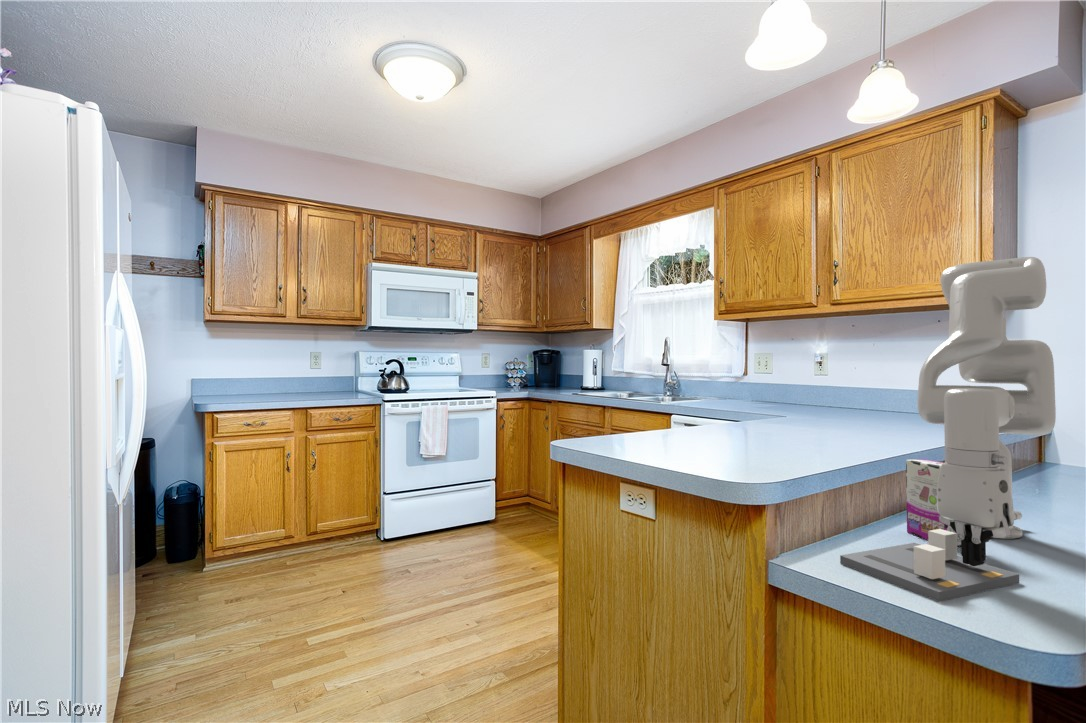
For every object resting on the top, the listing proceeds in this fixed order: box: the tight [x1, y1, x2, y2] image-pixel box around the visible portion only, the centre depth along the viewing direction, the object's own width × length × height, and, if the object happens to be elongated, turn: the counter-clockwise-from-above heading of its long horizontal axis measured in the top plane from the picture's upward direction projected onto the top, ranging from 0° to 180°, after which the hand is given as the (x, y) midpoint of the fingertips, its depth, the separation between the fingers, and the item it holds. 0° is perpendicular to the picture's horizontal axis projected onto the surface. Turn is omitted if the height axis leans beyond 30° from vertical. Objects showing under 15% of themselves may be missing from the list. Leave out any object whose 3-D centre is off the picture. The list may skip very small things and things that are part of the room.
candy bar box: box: [905, 458, 961, 548], centre depth 115 cm, size 11×5×16 cm, turn 5°
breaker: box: [914, 543, 945, 579], centre depth 91 cm, size 3×3×4 cm
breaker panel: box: [839, 542, 1020, 602], centre depth 97 cm, size 20×18×2 cm
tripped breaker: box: [927, 529, 959, 560], centre depth 99 cm, size 3×3×4 cm
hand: (973, 563), depth 94 cm, fingers closed
